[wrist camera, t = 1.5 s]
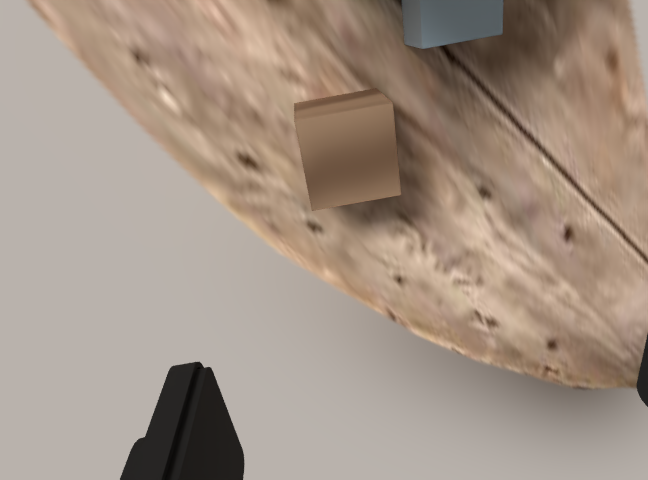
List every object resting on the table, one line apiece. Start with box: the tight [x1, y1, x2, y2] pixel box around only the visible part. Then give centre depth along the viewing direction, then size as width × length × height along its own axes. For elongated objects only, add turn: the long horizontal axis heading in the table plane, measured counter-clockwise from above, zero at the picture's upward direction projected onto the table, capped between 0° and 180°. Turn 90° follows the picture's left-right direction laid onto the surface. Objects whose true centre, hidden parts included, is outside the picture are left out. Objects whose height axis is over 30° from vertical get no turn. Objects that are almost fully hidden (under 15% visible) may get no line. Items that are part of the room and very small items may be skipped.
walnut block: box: [294, 88, 401, 211], centre depth 25 cm, size 5×5×5 cm
